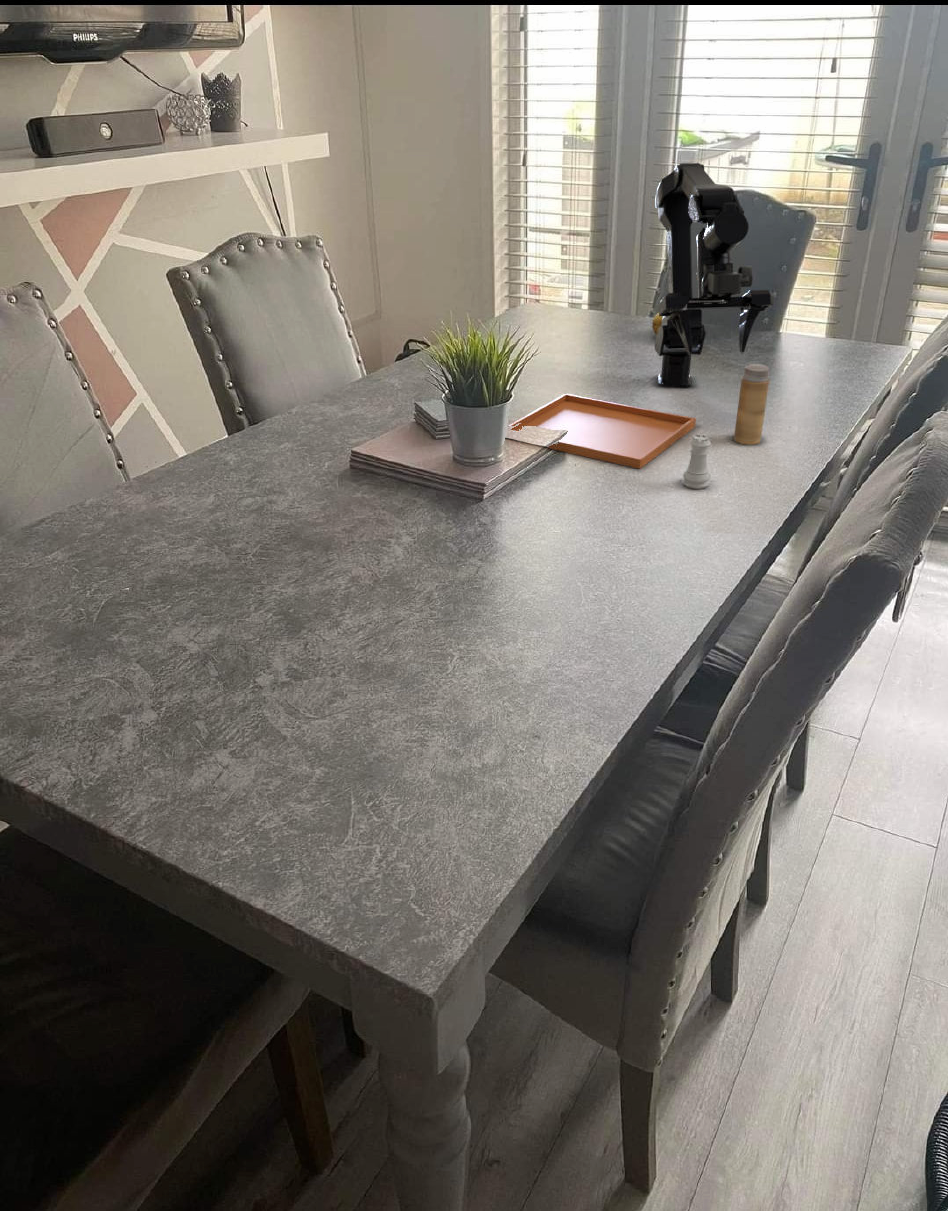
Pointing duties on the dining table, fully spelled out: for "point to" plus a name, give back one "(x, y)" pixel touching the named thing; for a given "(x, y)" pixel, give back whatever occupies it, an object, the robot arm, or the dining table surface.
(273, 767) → the dining table surface
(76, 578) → the dining table surface
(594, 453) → the tray
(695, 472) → the rook chess piece
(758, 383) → the disc
